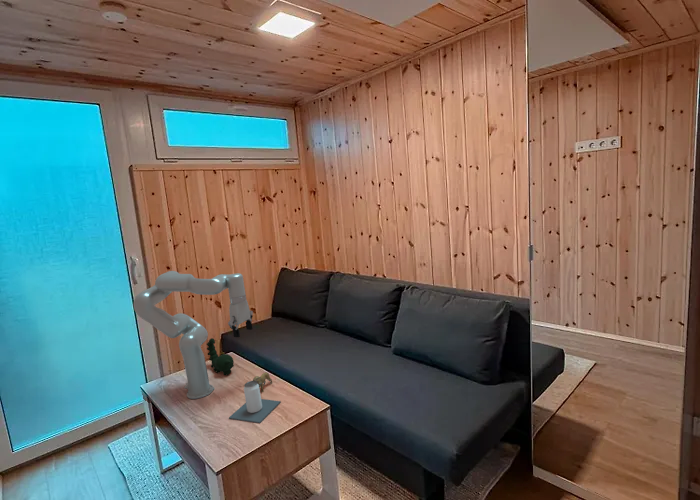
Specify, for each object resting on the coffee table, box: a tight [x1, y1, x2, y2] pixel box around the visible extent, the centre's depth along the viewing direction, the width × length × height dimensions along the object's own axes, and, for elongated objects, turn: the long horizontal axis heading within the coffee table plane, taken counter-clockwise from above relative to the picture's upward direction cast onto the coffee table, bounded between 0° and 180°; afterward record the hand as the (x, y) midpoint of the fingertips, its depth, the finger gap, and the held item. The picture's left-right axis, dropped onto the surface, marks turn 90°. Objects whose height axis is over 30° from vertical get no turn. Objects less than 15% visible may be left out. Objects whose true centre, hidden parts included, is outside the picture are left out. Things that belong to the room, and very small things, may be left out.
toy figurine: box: [206, 337, 235, 376], centre depth 210 cm, size 9×19×25 cm
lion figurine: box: [252, 372, 273, 393], centre depth 186 cm, size 15×5×9 cm, turn 169°
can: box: [243, 380, 262, 413], centre depth 166 cm, size 6×6×12 cm
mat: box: [228, 398, 282, 424], centre depth 167 cm, size 16×16×1 cm
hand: (243, 333), depth 185 cm, fingers open, 9 cm apart
